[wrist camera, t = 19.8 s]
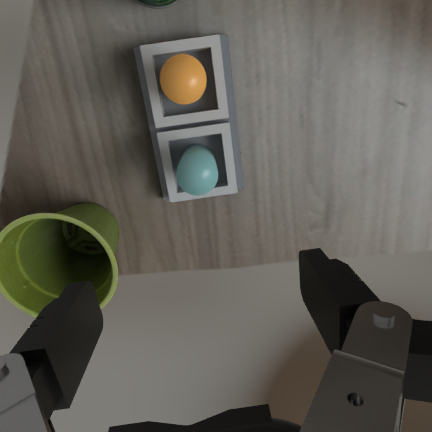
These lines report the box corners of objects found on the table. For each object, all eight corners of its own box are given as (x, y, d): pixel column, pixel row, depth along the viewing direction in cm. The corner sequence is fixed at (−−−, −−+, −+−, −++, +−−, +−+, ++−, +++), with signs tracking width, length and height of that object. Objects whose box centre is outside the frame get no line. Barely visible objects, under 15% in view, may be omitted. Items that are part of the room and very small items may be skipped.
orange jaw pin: (165, 67, 34) (155, 57, 27) (202, 61, 34) (202, 50, 27) (171, 106, 35) (164, 107, 28) (207, 100, 35) (209, 100, 28)
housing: (134, 48, 34) (129, 44, 31) (226, 35, 34) (229, 30, 31) (164, 198, 40) (162, 205, 37) (242, 187, 40) (246, 193, 37)
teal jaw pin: (178, 146, 37) (172, 157, 29) (212, 141, 37) (215, 151, 29) (184, 179, 38) (180, 198, 31) (217, 175, 38) (220, 192, 31)
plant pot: (153, 249, 42) (138, 298, 32) (74, 280, 43) (34, 337, 33) (110, 168, 38) (77, 194, 28) (25, 204, 39) (-39, 242, 29)
